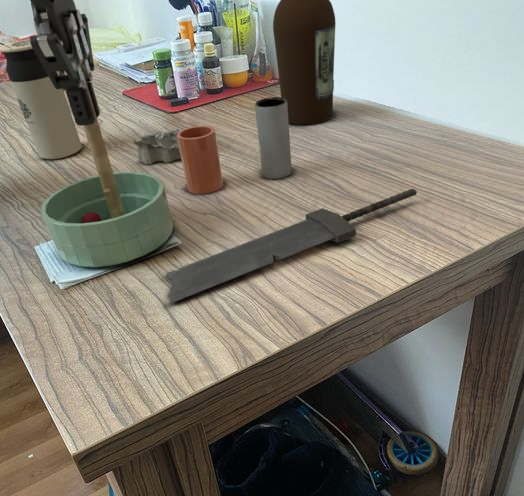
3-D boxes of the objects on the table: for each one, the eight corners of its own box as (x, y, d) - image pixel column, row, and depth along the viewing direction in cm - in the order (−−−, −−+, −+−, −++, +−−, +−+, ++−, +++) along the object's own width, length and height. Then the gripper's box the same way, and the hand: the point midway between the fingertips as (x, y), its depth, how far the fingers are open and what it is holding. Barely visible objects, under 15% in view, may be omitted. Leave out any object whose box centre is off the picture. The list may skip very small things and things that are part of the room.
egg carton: (136, 166, 87) (129, 141, 84) (147, 149, 93) (141, 126, 90) (197, 161, 86) (192, 136, 83) (204, 145, 91) (200, 121, 89)
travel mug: (78, 141, 100) (43, 35, 88) (85, 153, 95) (49, 42, 83) (37, 151, 98) (-5, 44, 86) (42, 164, 93) (-2, 51, 81)
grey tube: (294, 167, 80) (289, 96, 73) (288, 179, 76) (283, 106, 70) (265, 167, 81) (258, 97, 74) (259, 179, 77) (251, 107, 71)
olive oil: (269, 124, 96) (255, -42, 80) (296, 106, 103) (287, -51, 86) (320, 128, 92) (316, -47, 75) (345, 110, 98) (345, -56, 82)
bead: (92, 238, 69) (75, 228, 67) (96, 223, 70) (80, 212, 68) (103, 232, 68) (87, 221, 66) (107, 216, 69) (91, 205, 67)
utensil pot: (186, 195, 76) (174, 141, 70) (189, 181, 80) (178, 128, 75) (222, 191, 75) (213, 136, 70) (223, 177, 80) (215, 123, 74)
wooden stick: (111, 228, 67) (63, 78, 56) (116, 216, 70) (71, 70, 58) (124, 226, 67) (79, 76, 55) (129, 215, 70) (86, 69, 58)
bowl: (43, 276, 62) (23, 231, 58) (75, 218, 74) (60, 178, 70) (166, 263, 61) (154, 217, 58) (179, 207, 73) (170, 166, 69)
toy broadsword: (154, 283, 60) (149, 268, 58) (396, 190, 69) (396, 175, 68) (175, 313, 55) (170, 297, 53) (433, 208, 64) (434, 192, 63)
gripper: (17, -67, 54) (73, 106, 65) (-38, -60, 44) (40, 145, 55) (86, -76, 54) (130, 100, 65) (48, -71, 43) (108, 137, 55)
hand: (88, 120), depth 60 cm, fingers closed on wooden stick, 2 cm apart
